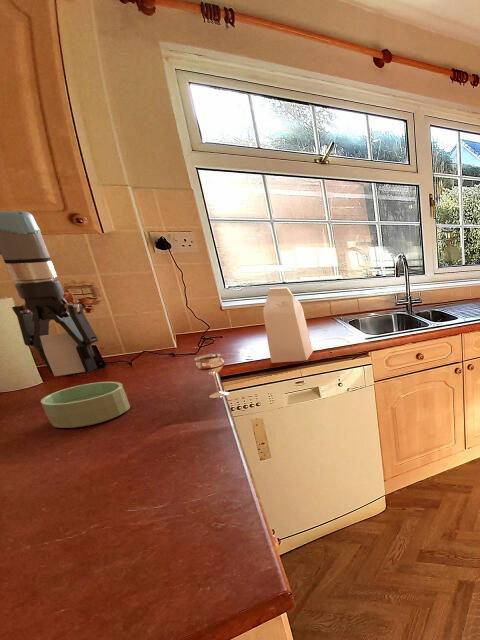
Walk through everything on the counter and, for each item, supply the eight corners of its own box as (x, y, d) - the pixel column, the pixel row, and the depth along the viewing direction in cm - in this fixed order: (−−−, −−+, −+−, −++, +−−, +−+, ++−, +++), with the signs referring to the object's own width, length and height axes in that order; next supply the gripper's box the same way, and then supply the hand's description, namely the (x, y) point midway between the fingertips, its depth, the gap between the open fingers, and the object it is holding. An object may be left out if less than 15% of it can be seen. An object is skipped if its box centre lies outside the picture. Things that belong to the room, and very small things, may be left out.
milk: (313, 351, 167) (300, 285, 158) (306, 360, 157) (292, 289, 147) (280, 353, 165) (265, 286, 156) (271, 362, 155) (254, 291, 145)
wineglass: (234, 389, 131) (224, 352, 127) (228, 397, 125) (217, 359, 121) (209, 392, 129) (198, 354, 125) (202, 400, 123) (190, 361, 119)
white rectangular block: (90, 370, 109) (75, 333, 106) (54, 376, 106) (37, 337, 102) (93, 367, 112) (78, 330, 109) (57, 372, 109) (41, 334, 105)
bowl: (34, 431, 106) (22, 406, 103) (86, 405, 120) (76, 382, 118) (100, 428, 107) (90, 403, 105) (144, 403, 122) (136, 380, 119)
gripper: (95, 277, 105) (127, 364, 113) (5, 279, 103) (44, 367, 112) (69, 282, 98) (105, 374, 106) (-28, 283, 96) (16, 377, 105)
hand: (74, 370), depth 109 cm, fingers closed on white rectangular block, 8 cm apart
